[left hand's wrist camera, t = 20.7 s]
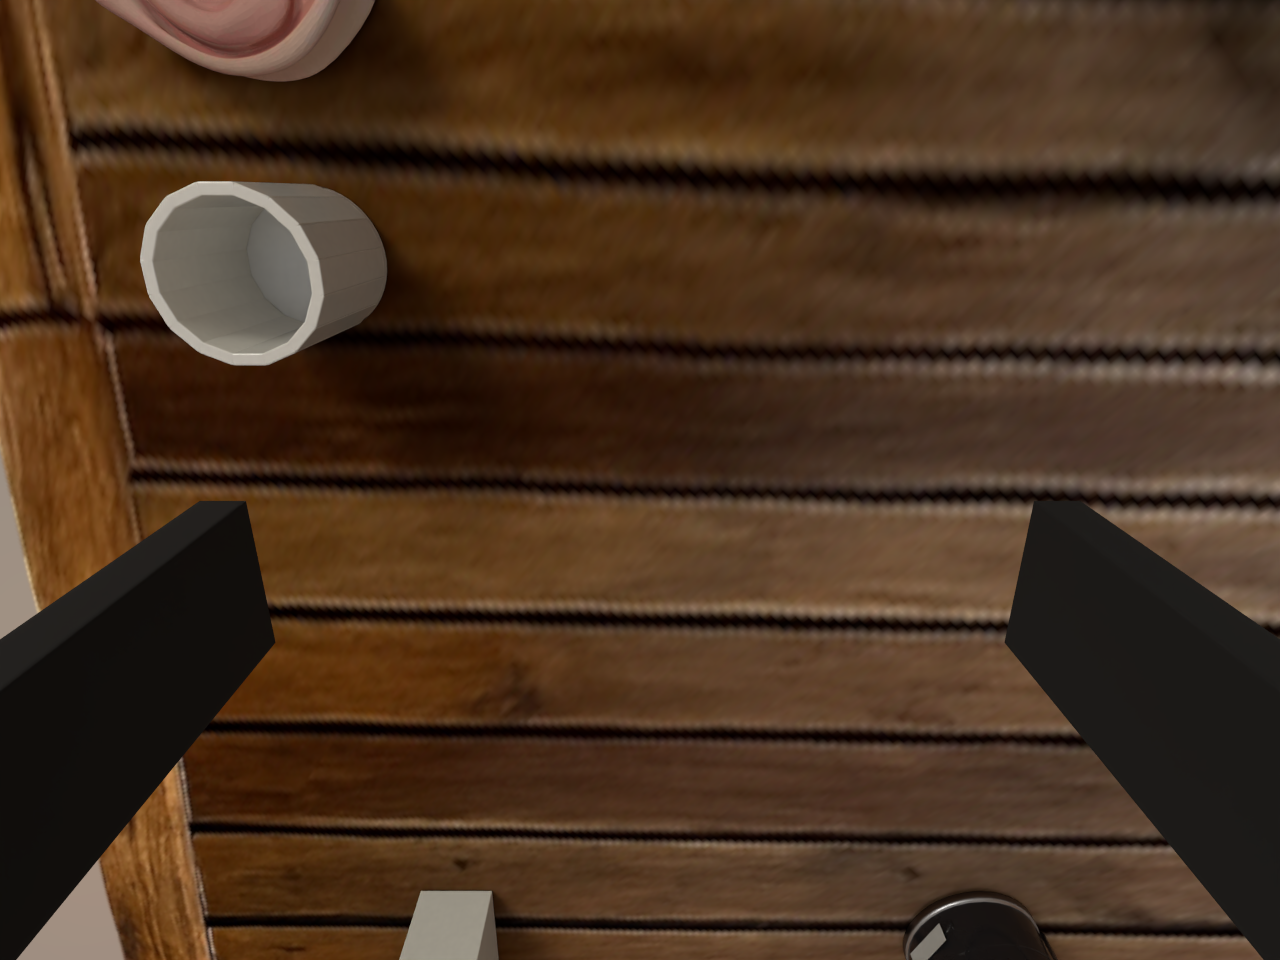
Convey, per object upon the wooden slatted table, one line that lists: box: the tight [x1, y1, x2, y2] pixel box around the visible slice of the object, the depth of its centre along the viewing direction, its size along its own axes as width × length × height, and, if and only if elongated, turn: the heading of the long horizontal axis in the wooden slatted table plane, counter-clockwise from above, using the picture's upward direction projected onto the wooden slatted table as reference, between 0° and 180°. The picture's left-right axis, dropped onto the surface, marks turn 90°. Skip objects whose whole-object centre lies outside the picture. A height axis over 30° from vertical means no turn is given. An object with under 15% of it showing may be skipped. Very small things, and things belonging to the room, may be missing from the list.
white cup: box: [140, 182, 387, 365], centre depth 33 cm, size 7×7×8 cm
